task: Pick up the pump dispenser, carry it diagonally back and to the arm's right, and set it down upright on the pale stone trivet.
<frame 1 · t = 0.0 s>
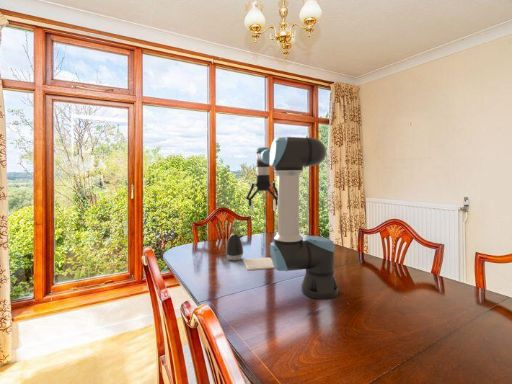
hand: (263, 211, 164), 28 cm above the table, fingers open, 13 cm apart
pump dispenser: (234, 259, 165), on the table
trivet: (259, 264, 156), on the table
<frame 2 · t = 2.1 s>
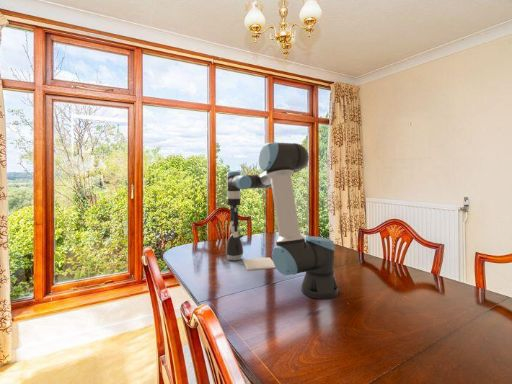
hand: (234, 234, 165), 15 cm above the table, fingers open, 13 cm apart
nothing on the table moved.
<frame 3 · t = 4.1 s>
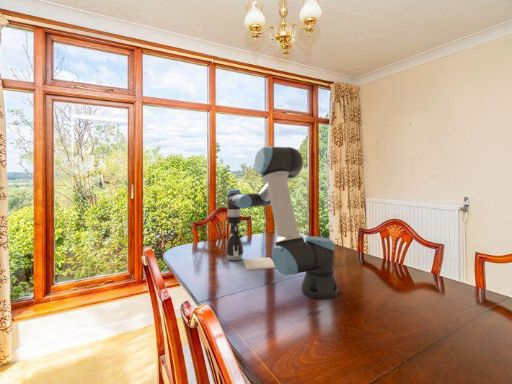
hand: (234, 253, 165), 3 cm above the table, fingers closed on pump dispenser, 10 cm apart
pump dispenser: (234, 259, 165), on the table, touching gripper
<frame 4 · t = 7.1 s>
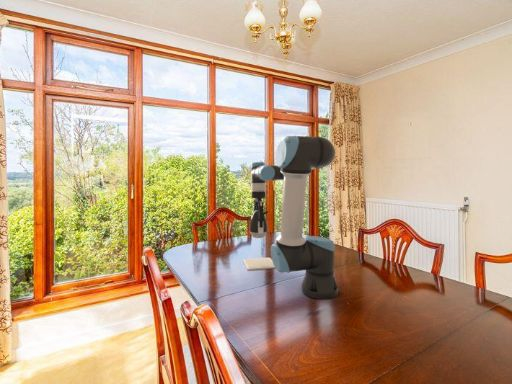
hand: (258, 231, 155), 18 cm above the table, fingers closed on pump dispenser, 10 cm apart
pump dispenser: (258, 237, 155), point 15 cm above the table, touching gripper
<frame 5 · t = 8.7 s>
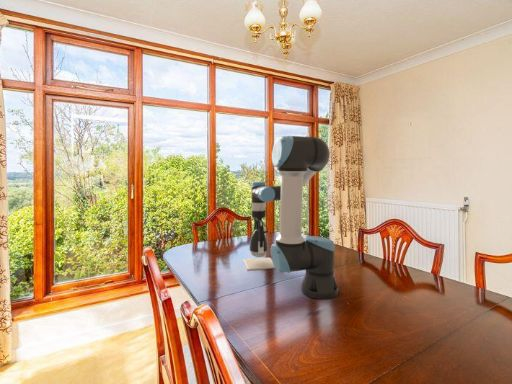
hand: (258, 250, 155), 8 cm above the table, fingers closed on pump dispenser, 10 cm apart
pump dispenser: (258, 256, 156), point 5 cm above the table, touching gripper
when the fingers open (6 cm above the table, at t = 10.2 s): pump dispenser drops 1 cm, resting on trivet.
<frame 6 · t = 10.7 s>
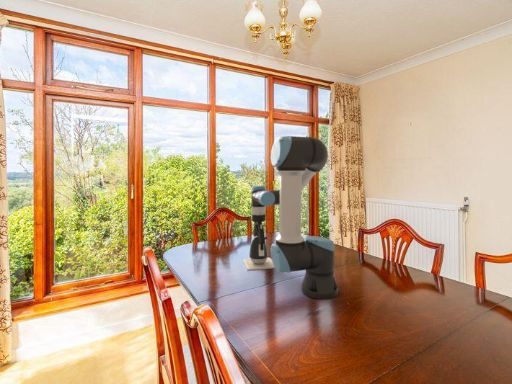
hand: (258, 252, 156), 7 cm above the table, fingers open, 13 cm apart
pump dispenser: (259, 262, 156), point 1 cm above the table, touching trivet
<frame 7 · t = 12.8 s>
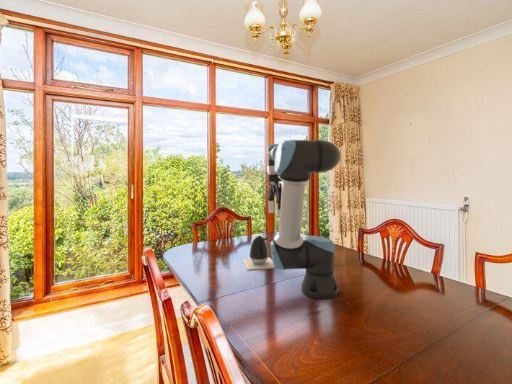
hand: (275, 214, 150), 28 cm above the table, fingers open, 13 cm apart
nothing on the table moved.
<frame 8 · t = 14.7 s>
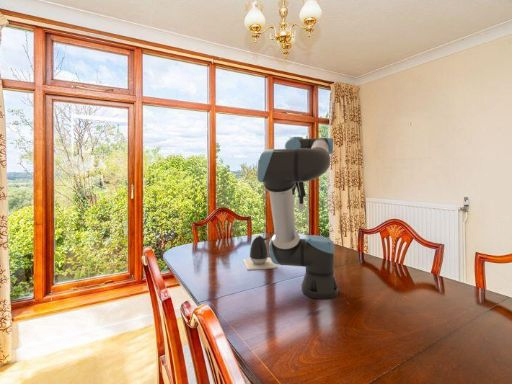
hand: (296, 208, 147), 32 cm above the table, fingers open, 13 cm apart
nothing on the table moved.
at the end: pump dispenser inside the target area on the trivet (0.3 cm from its centre), point 0.7 cm above the trivet's base; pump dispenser tilted 0°; the gripper is holding nothing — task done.
